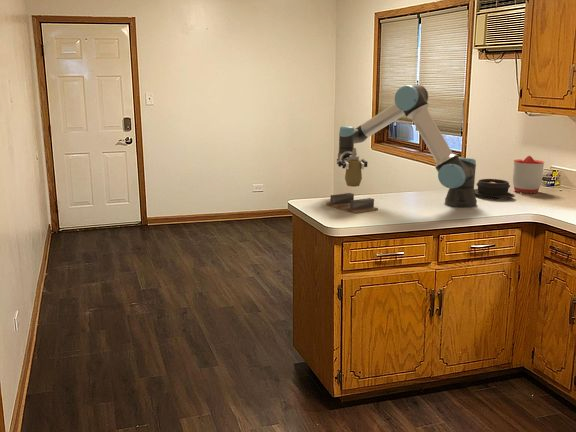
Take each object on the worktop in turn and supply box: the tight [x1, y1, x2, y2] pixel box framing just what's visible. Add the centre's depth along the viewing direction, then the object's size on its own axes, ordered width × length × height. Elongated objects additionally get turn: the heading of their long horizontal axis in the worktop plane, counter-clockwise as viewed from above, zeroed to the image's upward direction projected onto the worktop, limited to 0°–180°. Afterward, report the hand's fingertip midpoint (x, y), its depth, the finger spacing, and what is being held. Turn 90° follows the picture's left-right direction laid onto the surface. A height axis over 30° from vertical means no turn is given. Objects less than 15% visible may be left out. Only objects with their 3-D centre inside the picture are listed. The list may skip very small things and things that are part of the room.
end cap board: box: [325, 192, 379, 214], centre depth 300 cm, size 22×14×5 cm, turn 33°
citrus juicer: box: [512, 155, 545, 194], centre depth 343 cm, size 16×17×20 cm
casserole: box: [474, 178, 516, 200], centre depth 329 cm, size 25×19×8 cm
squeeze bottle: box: [344, 147, 363, 188], centre depth 297 cm, size 8×8×18 cm
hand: (355, 166), depth 292 cm, fingers closed on squeeze bottle, 6 cm apart
